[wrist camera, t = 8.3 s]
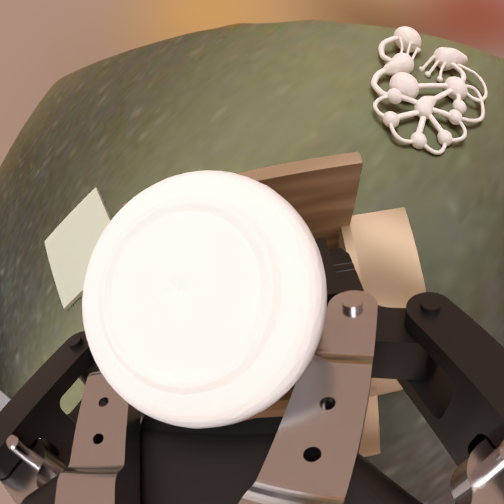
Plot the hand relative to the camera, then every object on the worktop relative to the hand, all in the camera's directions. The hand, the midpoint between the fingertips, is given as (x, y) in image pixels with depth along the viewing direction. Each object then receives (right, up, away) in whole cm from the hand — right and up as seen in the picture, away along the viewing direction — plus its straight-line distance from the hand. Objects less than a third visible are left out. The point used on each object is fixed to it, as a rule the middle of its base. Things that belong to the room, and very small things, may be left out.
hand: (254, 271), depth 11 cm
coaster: (-19, +1, +17) cm, 26 cm away
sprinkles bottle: (+2, -4, +6) cm, 7 cm away
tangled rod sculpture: (+20, +19, +14) cm, 31 cm away
